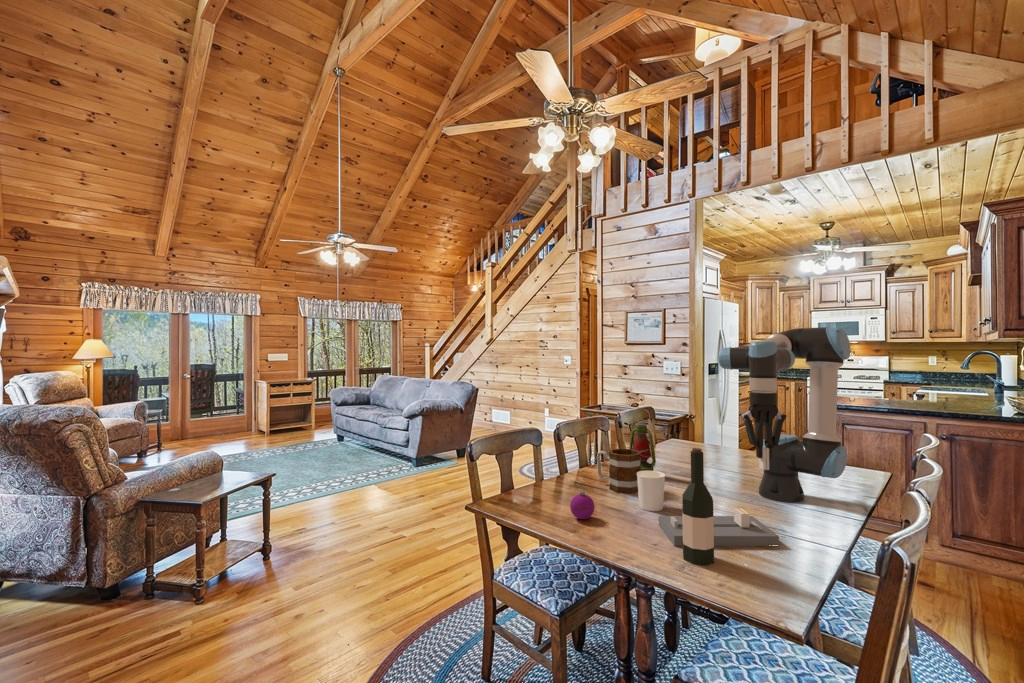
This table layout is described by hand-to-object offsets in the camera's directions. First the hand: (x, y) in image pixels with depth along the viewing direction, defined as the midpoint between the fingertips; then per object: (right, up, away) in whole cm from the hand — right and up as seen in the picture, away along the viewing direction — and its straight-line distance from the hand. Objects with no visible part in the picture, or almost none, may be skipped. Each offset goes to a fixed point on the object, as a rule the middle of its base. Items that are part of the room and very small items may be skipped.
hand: (764, 468), depth 145 cm
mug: (-33, -21, +50) cm, 64 cm away
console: (-15, -21, 0) cm, 25 cm away
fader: (-7, -17, 0) cm, 18 cm away
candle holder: (-27, -21, +26) cm, 43 cm away
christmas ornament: (-53, -21, +15) cm, 59 cm away
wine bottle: (-26, -21, -15) cm, 37 cm away
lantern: (-19, -21, +67) cm, 73 cm away
